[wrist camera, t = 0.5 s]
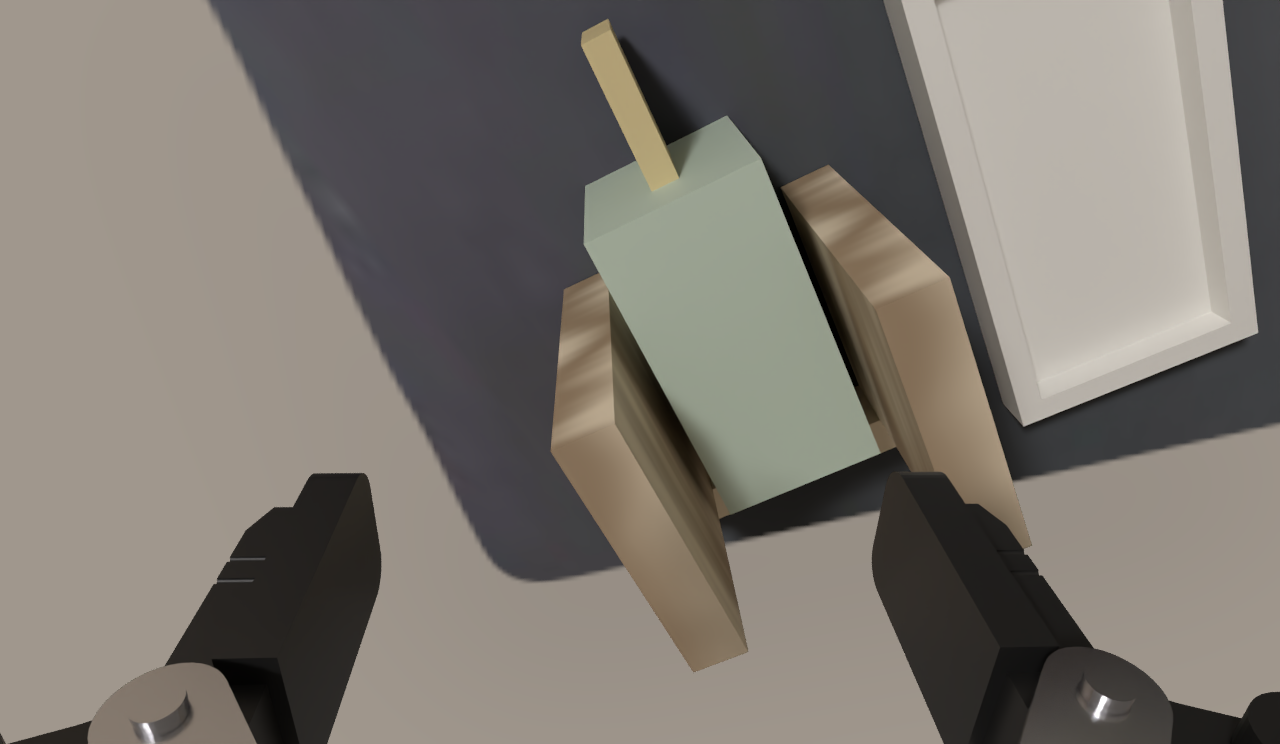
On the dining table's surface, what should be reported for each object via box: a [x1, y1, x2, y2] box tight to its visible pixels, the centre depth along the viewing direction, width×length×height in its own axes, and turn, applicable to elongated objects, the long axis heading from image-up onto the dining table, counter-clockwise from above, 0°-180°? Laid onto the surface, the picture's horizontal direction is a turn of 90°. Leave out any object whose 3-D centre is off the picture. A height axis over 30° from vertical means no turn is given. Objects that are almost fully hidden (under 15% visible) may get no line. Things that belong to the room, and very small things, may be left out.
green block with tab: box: [581, 19, 880, 515], centre depth 29 cm, size 6×17×7 cm, turn 26°
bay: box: [551, 165, 1032, 672], centre depth 29 cm, size 12×12×12 cm
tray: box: [883, 0, 1258, 426], centre depth 31 cm, size 10×20×2 cm, turn 26°
